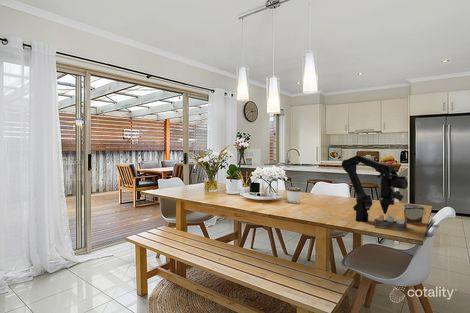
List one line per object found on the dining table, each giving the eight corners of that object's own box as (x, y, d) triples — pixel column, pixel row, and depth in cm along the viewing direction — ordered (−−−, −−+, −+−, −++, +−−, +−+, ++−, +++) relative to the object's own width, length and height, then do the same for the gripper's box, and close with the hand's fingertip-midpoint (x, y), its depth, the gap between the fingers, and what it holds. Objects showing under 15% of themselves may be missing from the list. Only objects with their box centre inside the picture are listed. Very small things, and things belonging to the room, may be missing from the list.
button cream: (396, 226, 153) (396, 220, 153) (395, 224, 157) (395, 218, 157) (404, 227, 152) (404, 221, 152) (403, 225, 155) (403, 219, 155)
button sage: (386, 222, 155) (386, 216, 155) (385, 220, 159) (386, 215, 159) (394, 223, 154) (394, 217, 154) (393, 221, 157) (393, 216, 157)
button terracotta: (376, 221, 157) (376, 216, 157) (376, 220, 161) (376, 214, 161) (384, 222, 156) (384, 216, 156) (383, 220, 159) (383, 215, 159)
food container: (417, 220, 170) (417, 204, 170) (424, 223, 164) (424, 206, 164) (397, 220, 170) (397, 204, 169) (403, 223, 164) (404, 206, 163)
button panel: (375, 227, 155) (375, 222, 155) (374, 223, 164) (374, 218, 163) (407, 230, 149) (407, 225, 149) (404, 226, 157) (404, 221, 157)
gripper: (405, 190, 145) (404, 219, 146) (399, 185, 162) (398, 211, 163) (381, 188, 149) (380, 217, 150) (378, 183, 166) (377, 209, 167)
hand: (385, 213), depth 157 cm, fingers closed
